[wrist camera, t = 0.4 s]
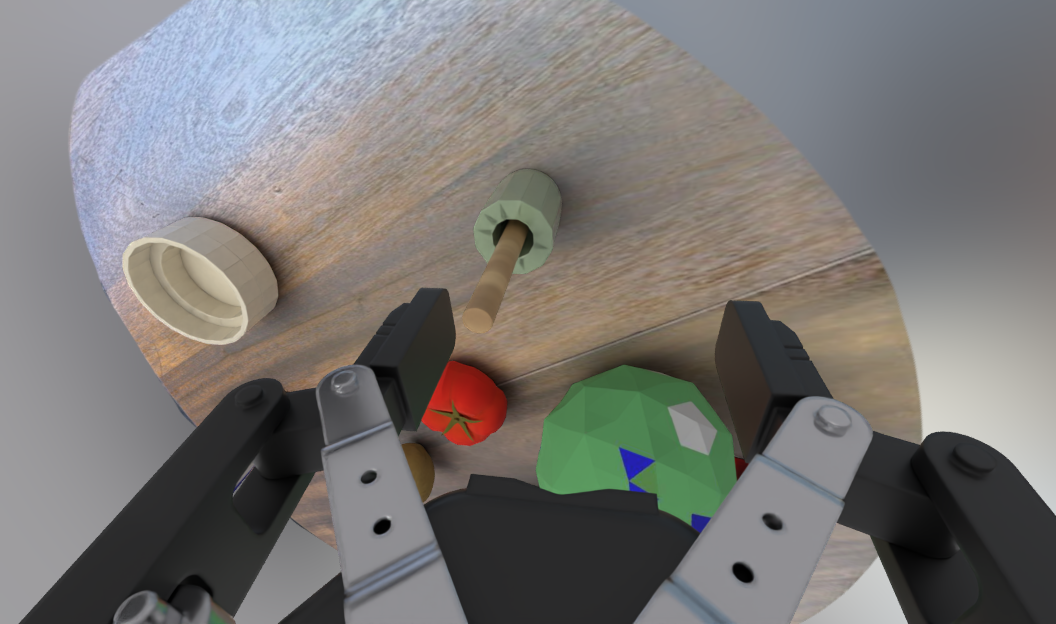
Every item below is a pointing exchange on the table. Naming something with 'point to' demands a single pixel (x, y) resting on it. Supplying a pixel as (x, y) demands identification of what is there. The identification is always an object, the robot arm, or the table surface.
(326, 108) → the table surface
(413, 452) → the potato
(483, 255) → the crock
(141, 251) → the bowl
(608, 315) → the table surface
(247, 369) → the table surface
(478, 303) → the stick
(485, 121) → the table surface
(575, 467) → the decorative sphere
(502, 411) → the tomato
